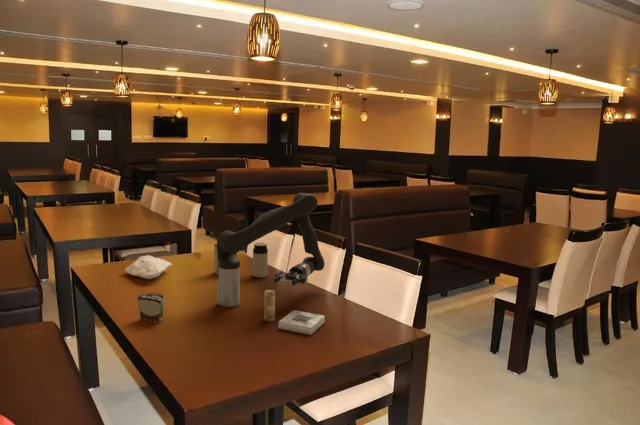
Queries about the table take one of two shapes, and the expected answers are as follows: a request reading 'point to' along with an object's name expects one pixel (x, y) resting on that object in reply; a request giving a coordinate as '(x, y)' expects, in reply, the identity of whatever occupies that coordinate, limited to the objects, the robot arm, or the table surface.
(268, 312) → the peg
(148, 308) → the food container
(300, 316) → the beige flat square frame
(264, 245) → the travel mug
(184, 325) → the table surface
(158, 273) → the crumpled cloth
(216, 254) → the coffee box
